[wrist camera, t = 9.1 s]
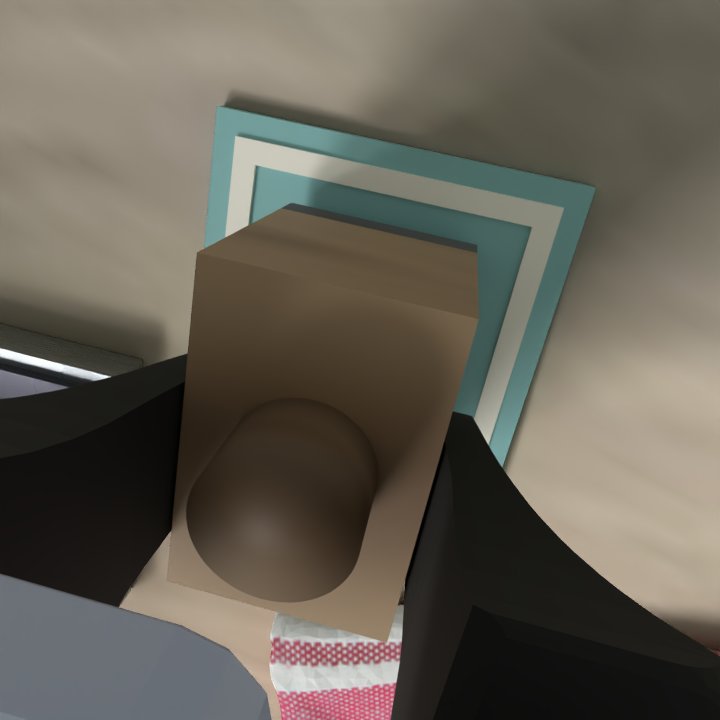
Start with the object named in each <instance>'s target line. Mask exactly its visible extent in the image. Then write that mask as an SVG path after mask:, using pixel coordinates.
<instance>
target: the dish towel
mask: <svg viewBox="0 0 720 720" xmlns="http://www.w3.org/2000/svg"><path fill="white" fill-rule="evenodd" d="M403 611H404V605H398V606H397V610H396V613H395V617H394V620H393V624H392V627H391V631H390V634H389V638H388V641H387V643H386V642H383V641H379V640H376V639H372V638H368V637H365V636H361V635H358V634H354V633H351V632H347V631H343V630H340V629H336V628H333V627H329V626H326V625H322V624H319V623H315V622H311V621H308V620H304V619H301V618H297V617H294V616H290V615H286V614H283V613H279V612H276V615H275V619H274V623H273V627H272V630H271V634H270V640H271V643H272V650H271V657H270V673H271V679H272V682H273V685H274V687H275V690H276V693H277V695H278V698H279V703H280V709H281V717H282V720H390V719H391V713H392V707H393V701H394V695H395V688H396V682H397V676H398V670H399V663H400V653H401V644H402V628H403ZM709 650H711V649H709ZM711 651H712V652H714V653H716V654H717V655H719V656H720V651H715V650H711Z"/></svg>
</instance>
